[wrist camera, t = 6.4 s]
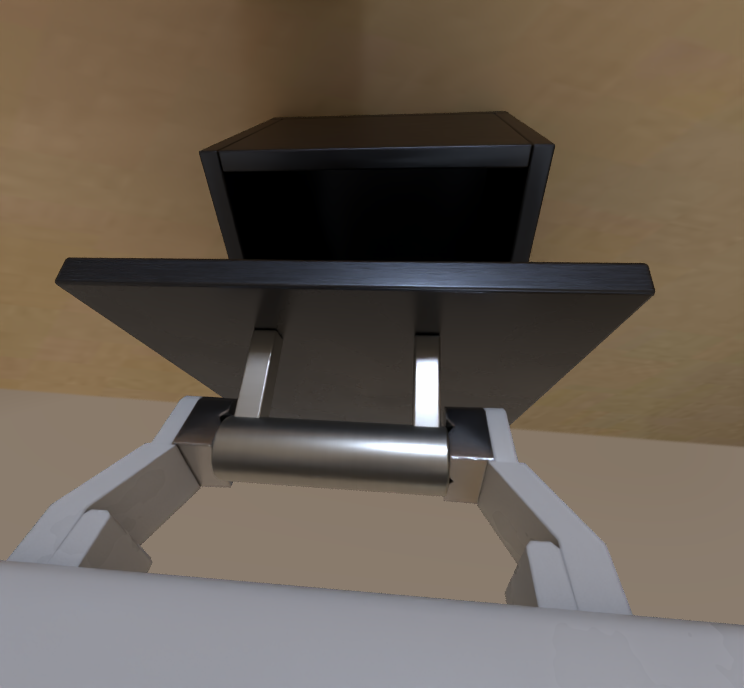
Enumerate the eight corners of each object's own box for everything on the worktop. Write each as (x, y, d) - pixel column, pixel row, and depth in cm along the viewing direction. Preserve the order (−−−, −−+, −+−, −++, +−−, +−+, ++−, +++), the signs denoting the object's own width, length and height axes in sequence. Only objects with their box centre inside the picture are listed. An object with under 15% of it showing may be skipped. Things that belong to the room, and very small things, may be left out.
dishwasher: (273, 117, 23) (197, 150, 15) (506, 111, 21) (556, 143, 14) (308, 330, 32) (273, 418, 24) (472, 335, 31) (490, 429, 23)
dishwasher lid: (64, 255, 9) (-35, 454, 7) (649, 261, 8) (718, 505, 6) (272, 417, 24) (257, 498, 22) (490, 429, 23) (496, 516, 21)
